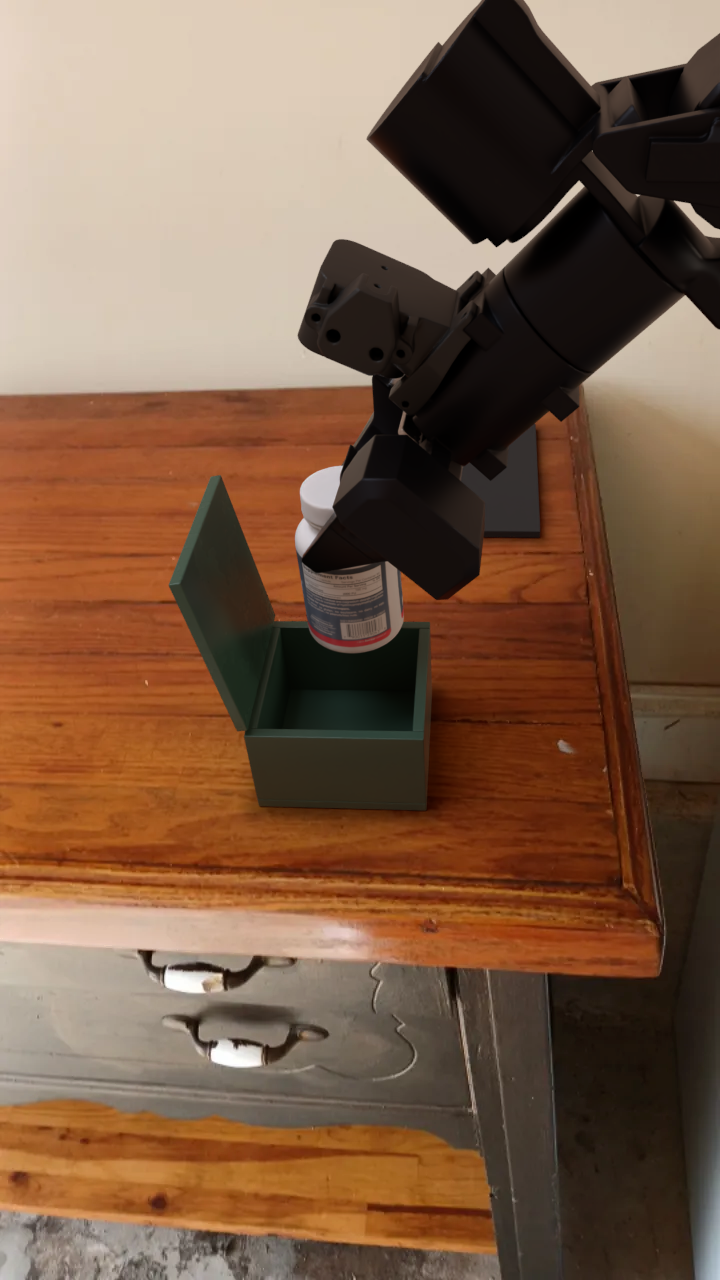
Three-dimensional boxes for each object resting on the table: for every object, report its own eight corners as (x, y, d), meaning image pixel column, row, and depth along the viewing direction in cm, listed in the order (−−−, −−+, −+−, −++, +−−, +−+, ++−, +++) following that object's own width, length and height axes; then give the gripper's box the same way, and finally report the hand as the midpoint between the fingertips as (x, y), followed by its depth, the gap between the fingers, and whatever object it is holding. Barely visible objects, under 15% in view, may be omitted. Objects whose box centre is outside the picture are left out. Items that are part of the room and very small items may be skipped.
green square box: (432, 691, 58) (430, 621, 55) (426, 811, 51) (423, 739, 48) (283, 689, 59) (271, 620, 56) (258, 806, 52) (243, 736, 49)
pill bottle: (339, 585, 55) (322, 449, 49) (420, 608, 53) (413, 468, 47) (290, 640, 52) (266, 501, 46) (374, 667, 50) (360, 524, 44)
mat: (539, 538, 70) (540, 531, 69) (429, 537, 71) (429, 530, 70) (535, 429, 81) (535, 423, 81) (441, 430, 83) (440, 424, 82)
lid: (220, 474, 49) (210, 476, 49) (179, 583, 42) (167, 585, 43) (275, 615, 55) (266, 616, 55) (247, 731, 48) (236, 732, 49)
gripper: (432, 116, 44) (239, 348, 53) (371, 266, 30) (124, 545, 39) (595, 284, 47) (389, 474, 57) (608, 486, 34) (333, 694, 43)
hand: (319, 533), depth 49 cm, fingers closed on pill bottle, 5 cm apart
